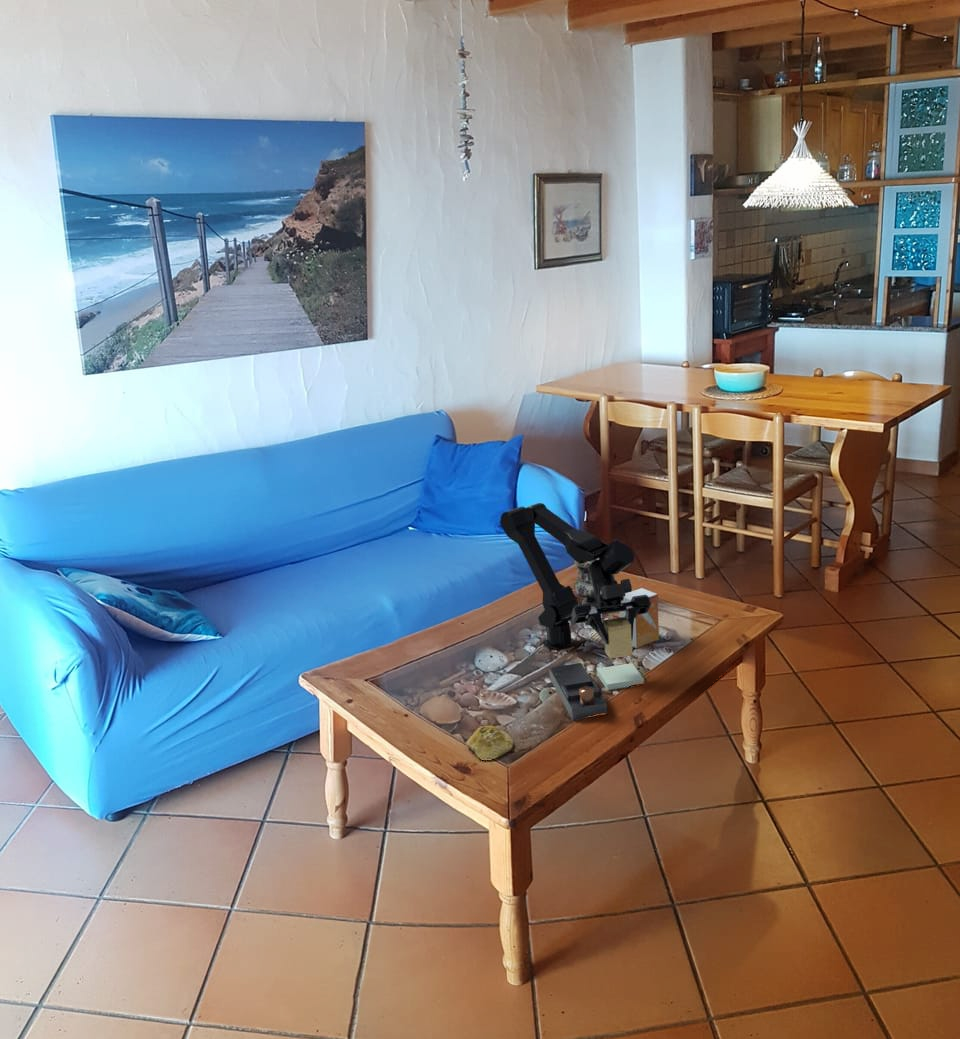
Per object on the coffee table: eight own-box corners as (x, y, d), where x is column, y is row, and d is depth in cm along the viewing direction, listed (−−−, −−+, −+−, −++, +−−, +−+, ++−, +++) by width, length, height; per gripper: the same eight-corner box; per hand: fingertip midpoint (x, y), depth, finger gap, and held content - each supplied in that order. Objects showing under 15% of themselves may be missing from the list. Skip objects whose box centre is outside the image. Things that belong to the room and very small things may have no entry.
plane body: (549, 678, 236) (548, 656, 234) (581, 673, 237) (580, 651, 235) (572, 720, 215) (571, 696, 213) (607, 714, 216) (605, 690, 215)
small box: (636, 649, 248) (634, 601, 244) (620, 641, 253) (618, 595, 250) (660, 639, 252) (658, 593, 249) (643, 632, 257) (641, 587, 254)
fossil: (513, 729, 202) (466, 736, 201) (516, 757, 202) (469, 764, 201) (508, 717, 213) (463, 723, 212) (511, 743, 213) (466, 750, 212)
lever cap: (604, 650, 233) (602, 620, 230) (626, 647, 234) (624, 616, 231) (609, 658, 228) (608, 627, 226) (632, 655, 229) (630, 624, 227)
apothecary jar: (600, 614, 272) (597, 554, 267) (566, 607, 280) (562, 548, 275) (624, 600, 280) (621, 542, 275) (591, 593, 288) (587, 536, 283)
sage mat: (596, 674, 236) (596, 668, 236) (632, 668, 237) (632, 663, 237) (607, 690, 228) (607, 684, 227) (644, 684, 229) (643, 678, 228)
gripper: (571, 573, 227) (586, 634, 220) (647, 563, 230) (664, 623, 223) (565, 593, 237) (579, 652, 230) (638, 583, 240) (654, 641, 232)
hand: (619, 642), depth 228 cm, fingers closed on lever cap, 5 cm apart
